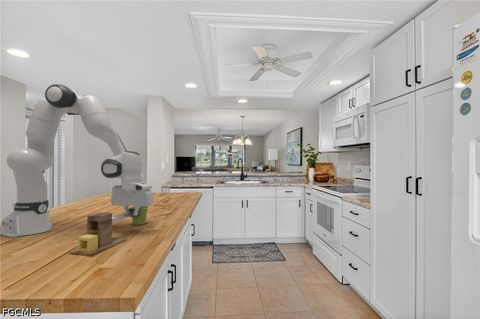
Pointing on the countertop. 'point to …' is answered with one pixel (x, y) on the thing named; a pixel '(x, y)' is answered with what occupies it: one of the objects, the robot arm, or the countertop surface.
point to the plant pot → (142, 217)
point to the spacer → (87, 243)
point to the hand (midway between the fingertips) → (131, 215)
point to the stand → (100, 233)
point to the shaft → (124, 215)
